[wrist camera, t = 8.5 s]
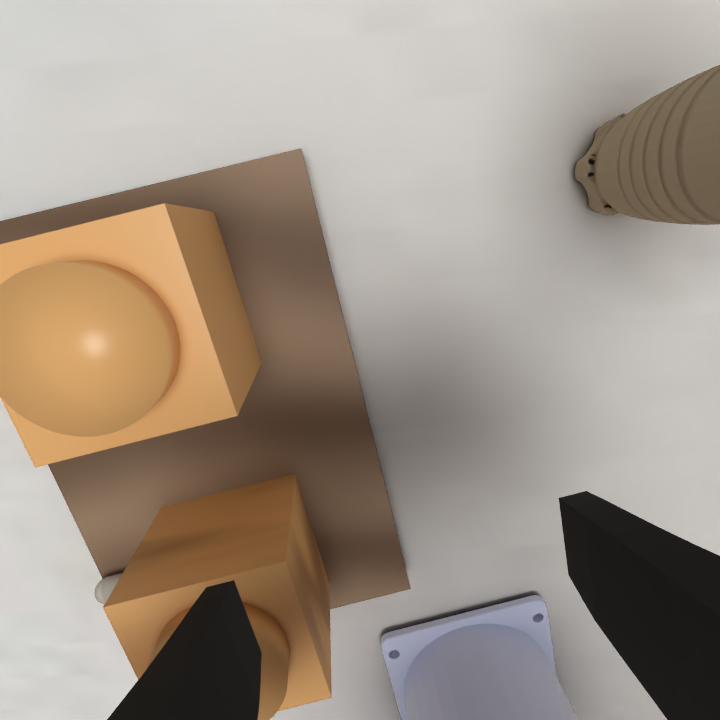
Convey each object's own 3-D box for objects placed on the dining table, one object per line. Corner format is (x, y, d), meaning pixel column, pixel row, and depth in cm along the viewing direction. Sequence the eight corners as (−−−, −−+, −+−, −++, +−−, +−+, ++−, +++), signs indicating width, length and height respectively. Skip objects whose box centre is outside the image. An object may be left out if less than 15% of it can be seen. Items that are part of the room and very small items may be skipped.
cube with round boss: (261, 363, 17) (230, 432, 11) (116, 399, 17) (10, 488, 11) (213, 211, 15) (148, 200, 10) (55, 251, 15) (-107, 264, 10)
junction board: (405, 569, 21) (446, 733, 14) (148, 634, 21) (63, 831, 14) (302, 154, 16) (288, 97, 9) (-37, 236, 16) (-308, 241, 9)
